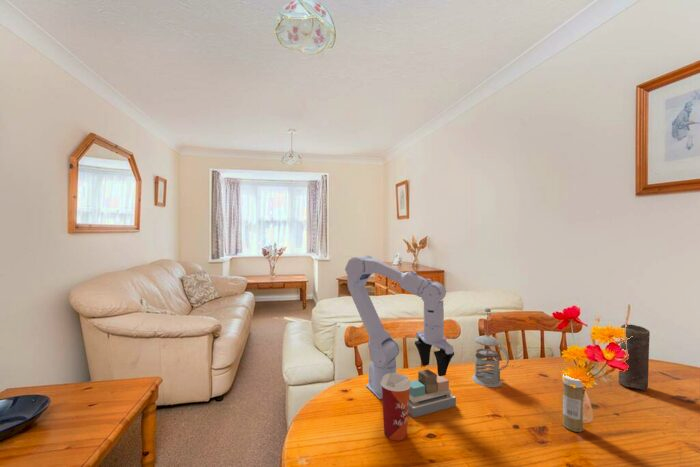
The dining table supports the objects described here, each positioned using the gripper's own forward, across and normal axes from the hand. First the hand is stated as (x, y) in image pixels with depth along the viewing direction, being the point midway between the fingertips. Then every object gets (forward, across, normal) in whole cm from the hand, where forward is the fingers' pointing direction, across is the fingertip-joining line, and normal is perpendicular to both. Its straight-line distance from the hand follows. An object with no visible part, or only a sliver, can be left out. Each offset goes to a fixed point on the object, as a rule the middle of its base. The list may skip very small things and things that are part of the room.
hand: (433, 370), depth 94 cm
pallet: (+8, +1, +2) cm, 8 cm away
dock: (+10, +1, +2) cm, 11 cm away
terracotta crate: (+6, +1, -3) cm, 7 cm away
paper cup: (+11, -7, +17) cm, 21 cm away
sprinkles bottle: (+11, -23, -27) cm, 37 cm away
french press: (+11, +5, -28) cm, 30 cm away
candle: (+11, -17, -69) cm, 72 cm away
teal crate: (+6, +1, +6) cm, 8 cm away
